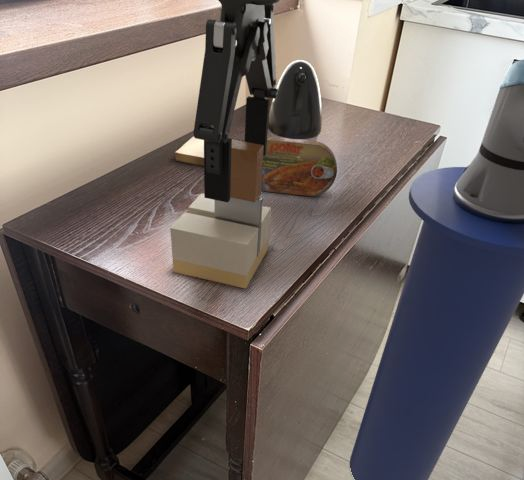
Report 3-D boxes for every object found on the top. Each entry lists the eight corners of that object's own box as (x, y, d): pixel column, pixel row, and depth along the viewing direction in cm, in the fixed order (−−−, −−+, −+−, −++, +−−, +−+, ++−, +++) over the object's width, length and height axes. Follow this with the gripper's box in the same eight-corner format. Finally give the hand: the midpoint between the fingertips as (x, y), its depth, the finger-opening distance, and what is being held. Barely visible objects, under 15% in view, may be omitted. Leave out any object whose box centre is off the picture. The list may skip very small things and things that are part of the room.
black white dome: (266, 157, 95) (273, 67, 84) (265, 136, 102) (271, 51, 92) (321, 160, 95) (333, 71, 85) (315, 139, 103) (326, 54, 92)
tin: (242, 189, 85) (244, 138, 79) (245, 180, 87) (247, 130, 81) (332, 199, 84) (340, 149, 78) (333, 191, 86) (341, 141, 80)
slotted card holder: (268, 249, 72) (271, 207, 67) (245, 288, 65) (247, 244, 60) (202, 235, 73) (201, 193, 69) (173, 272, 66) (170, 227, 62)
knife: (261, 250, 68) (268, 145, 58) (255, 260, 66) (261, 153, 56) (218, 241, 69) (218, 136, 59) (212, 250, 67) (211, 144, 57)
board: (255, 151, 96) (255, 144, 95) (238, 172, 89) (238, 164, 88) (196, 141, 98) (196, 133, 97) (175, 160, 91) (174, 152, 90)
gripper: (249, -67, 55) (241, 133, 69) (143, -48, 37) (163, 215, 52) (316, -59, 54) (294, 142, 68) (240, -36, 36) (232, 230, 50)
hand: (237, 174), depth 60 cm, fingers open, 13 cm apart
